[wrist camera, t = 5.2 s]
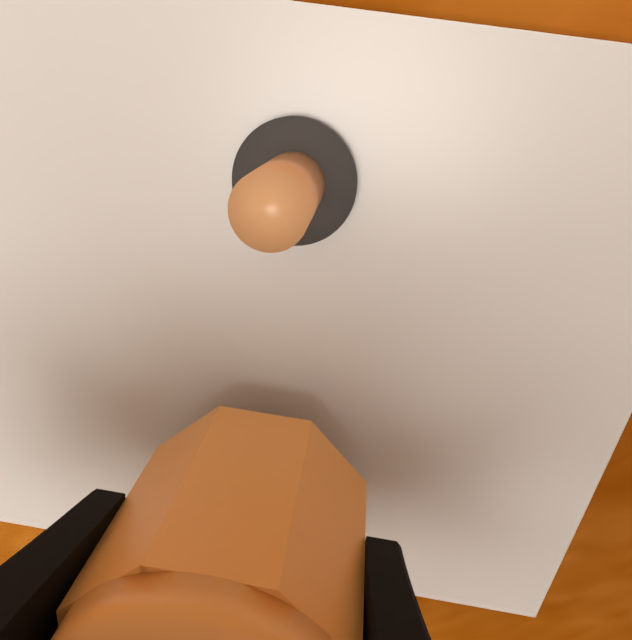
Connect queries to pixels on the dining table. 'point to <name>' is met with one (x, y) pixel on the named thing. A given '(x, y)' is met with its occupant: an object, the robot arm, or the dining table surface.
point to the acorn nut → (230, 540)
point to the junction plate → (321, 262)
